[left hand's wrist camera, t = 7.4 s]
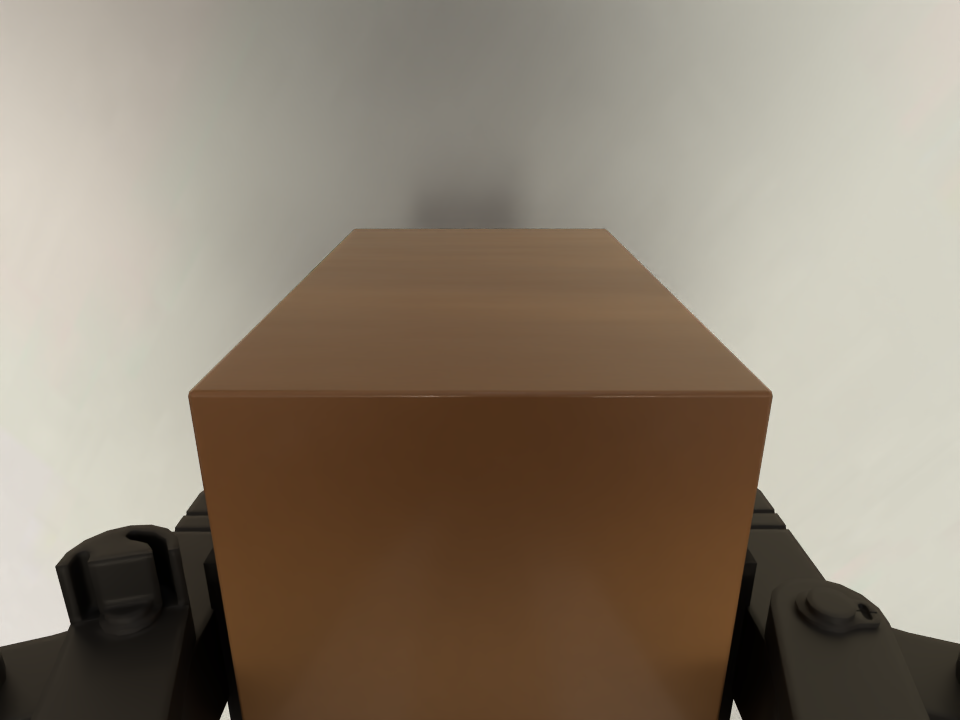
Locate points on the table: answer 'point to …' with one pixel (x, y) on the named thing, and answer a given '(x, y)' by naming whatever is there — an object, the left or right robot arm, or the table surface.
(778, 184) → the table surface
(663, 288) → the bar
